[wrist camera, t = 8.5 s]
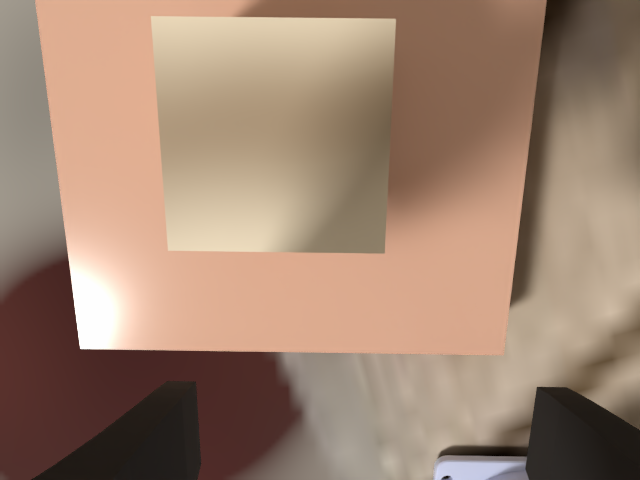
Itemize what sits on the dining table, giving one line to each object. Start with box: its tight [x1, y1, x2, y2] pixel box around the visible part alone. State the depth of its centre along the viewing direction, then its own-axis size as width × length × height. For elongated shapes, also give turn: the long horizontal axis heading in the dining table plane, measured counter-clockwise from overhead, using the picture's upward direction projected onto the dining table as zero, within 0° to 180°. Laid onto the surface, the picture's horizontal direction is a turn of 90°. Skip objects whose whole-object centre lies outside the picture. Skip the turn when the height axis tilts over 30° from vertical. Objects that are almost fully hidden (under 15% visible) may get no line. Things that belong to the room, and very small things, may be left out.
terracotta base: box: [35, 0, 547, 355], centre depth 17 cm, size 15×15×2 cm
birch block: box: [151, 16, 396, 254], centre depth 13 cm, size 5×5×5 cm
